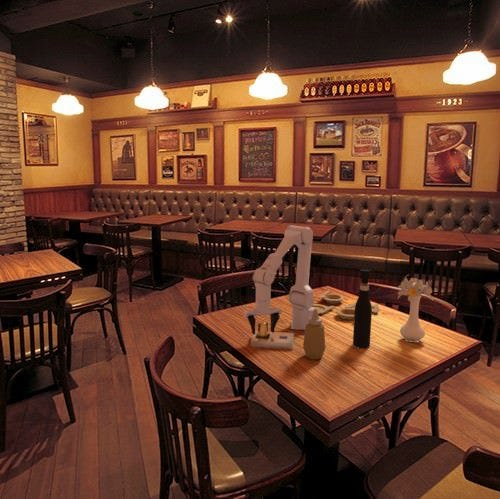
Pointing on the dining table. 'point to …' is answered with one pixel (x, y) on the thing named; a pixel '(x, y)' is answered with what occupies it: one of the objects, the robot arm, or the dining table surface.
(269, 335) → the plate
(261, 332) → the brass fitting
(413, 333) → the flower vase
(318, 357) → the squeeze bottle
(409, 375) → the dining table surface
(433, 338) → the dining table surface
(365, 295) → the wine bottle
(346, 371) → the dining table surface
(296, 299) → the robot arm
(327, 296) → the tableware set
